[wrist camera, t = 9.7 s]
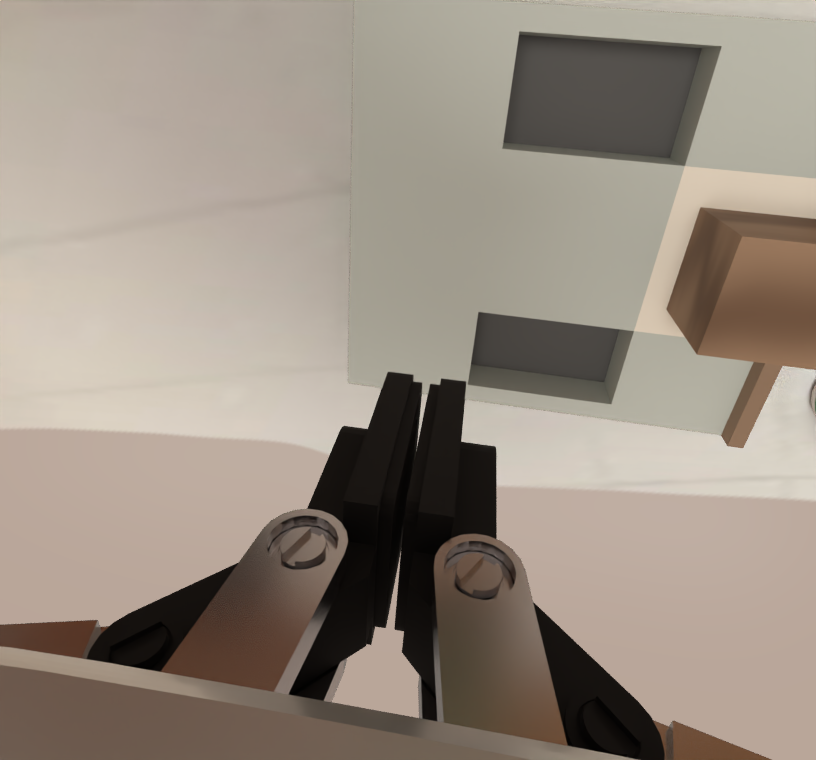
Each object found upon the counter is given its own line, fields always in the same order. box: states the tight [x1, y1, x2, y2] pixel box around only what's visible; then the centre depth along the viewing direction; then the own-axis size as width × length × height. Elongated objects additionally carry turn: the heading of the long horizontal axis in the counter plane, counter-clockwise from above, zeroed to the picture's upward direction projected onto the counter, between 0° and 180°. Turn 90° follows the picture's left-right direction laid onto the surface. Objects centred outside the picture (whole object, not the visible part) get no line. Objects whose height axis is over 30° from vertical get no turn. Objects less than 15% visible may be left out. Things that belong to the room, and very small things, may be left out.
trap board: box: [348, 0, 816, 448], centre depth 27 cm, size 19×22×4 cm
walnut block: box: [666, 207, 816, 370], centre depth 23 cm, size 5×5×5 cm
